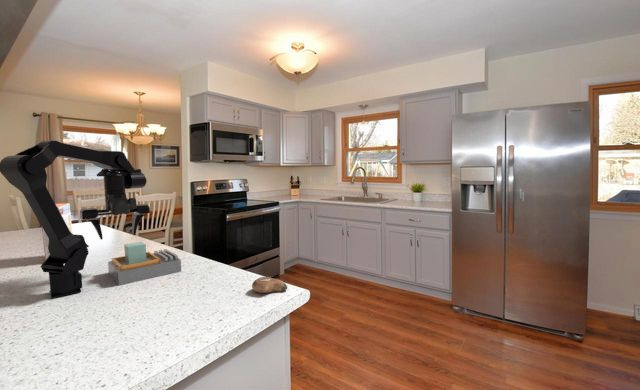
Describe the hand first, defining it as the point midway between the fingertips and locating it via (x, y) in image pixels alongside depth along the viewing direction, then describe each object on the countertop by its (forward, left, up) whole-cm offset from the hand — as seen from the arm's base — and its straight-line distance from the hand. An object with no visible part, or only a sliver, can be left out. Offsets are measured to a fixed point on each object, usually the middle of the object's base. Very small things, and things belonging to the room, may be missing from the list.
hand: (118, 237), depth 103 cm
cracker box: (-13, +37, -12) cm, 41 cm away
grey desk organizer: (+6, -6, -12) cm, 15 cm away
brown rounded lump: (+26, -48, -12) cm, 56 cm away
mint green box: (+3, -5, -8) cm, 10 cm away
